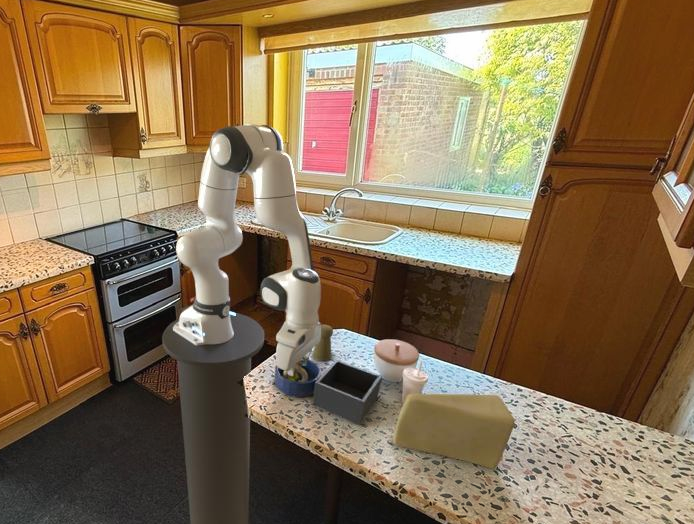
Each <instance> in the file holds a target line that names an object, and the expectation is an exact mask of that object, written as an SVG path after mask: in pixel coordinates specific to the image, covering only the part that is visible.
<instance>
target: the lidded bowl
mask: <svg viewBox="0 0 694 524" xmlns="http://www.w3.org/2000/svg"><path fill="white" fill-rule="evenodd" d="M419 359H420V352H419V350H418V349H417V348H416V347H415V346H414V345H412V344H410V343H408V342H405V341H403V340H399V339H391V338H390V339H389V338H388V339H382V340H379V341H377V342H376V343H375V344H374V347H373V365H374V368H375V370H376V372H377V374H378V375H380V376H382V379H384V380H385V381H388V382H391V383H399V382H403V378H404V377H403V371H404V370H405V369H407V368H417V364H418V361H419Z"/></svg>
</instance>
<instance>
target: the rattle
mask: <svg viewBox="0 0 694 524" xmlns="http://www.w3.org/2000/svg"><path fill="white" fill-rule="evenodd" d="M306 365H307V361H306V360H302V361H301V360H300V361H299V362H298V363H297V364H296V365H295V366H294V369H296V373H295V374H294V375H293V376H290V375H288V371H284V373H283V377H284V378H285V379H287V380H290V381H294V382H296V380H297V379H299V377H298V373H300V374H301V375H302V377H303V379H302V380H301V381H298V382H307V380H308V374H307V372H306V371H305V370H304V369H303V368H302V367H301V366H306ZM297 372H298V373H297Z"/></svg>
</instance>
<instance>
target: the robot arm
mask: <svg viewBox="0 0 694 524" xmlns="http://www.w3.org/2000/svg"><path fill="white" fill-rule="evenodd" d="M283 146H284V143H283V138H282V135H281V134H280V132H279V131H278V130H277V129H276V128H274V127H272V126H270V125H267V124H260V125H259V124H253V123H252V124H251V123H247V124H242V125H234V126H233V125H228V126H223V127H221V128H219V129H218V130H216V131H215V132H214V133H213V134H212V136H211V138H210V141H209V147H208V149H207V151H206V153H205V156H204V159H203V163H202V168H201V173H200V180H199V190H198V197H197V198H198V200H197V206H198V207H197V208H198V209H199V211H200V212H201V213H202V214H203V215H205V224H204V226H203V227H199V228H197V229H193V230H191V231H189V232H187V233H186V234H184V235H183V236H181V237H180V238H179V239H178V240H177V242H176V245H175V251H176V256H177V258H178V260H179V262H181V264H183V265H184V266H186V267H187V268H188V269H189V270H190V271H191V273H192V275H193V278H194V286H195V295H194V297H191V298H190V301H189V302H190V303H192V302H193V304H189V305H187V306H185V307H182V308H181V313H180V315H179V318H178V319H179V322H177V323H176V324H175V325H174V327H173V331H175V332H176V333H178V334H179V335H181V336H182V337H184V338H185V339H187V340H188V341H190V342H191V343H193V344H194V345H197V346H200V345H205V344H220V343H224V342H226V341H228V340H230V339H231V338H232V337H233V335H234V332H233V329H232V325H231V319H230V314H231V315H234V316H236V313H237V312H234V311H231V297H230V295H229V294H230V292H229V290H230V289H229V287H230V285H229V283H230V282H229V281H230V280H229V276H228V274H227V273H226V272H225V271H223V270H222V269H220V266H219V260H220V259H222V258H223V257H226V256H228V255H231V254H232V253H234V252H235V251H236V250H238V248H240V247H241V245H242V243H243V239H244V236H243V232H242V230H241V228H240V226H239V225H238V224H237V222H236V217H235V209H236V208H235V207H236V200H237V194H238V188H239V182H240V181H239V180H240V176H242V175H244V174H245V173H247V174H248V175H249V177H250V178H251V180H252V187H253V206H254V207H253V208H254V213H255V216H256V219H257V220H258V222H259V223H260V224H261V225H262V226H264V228H266V229H268V230H271V231H274V232H279V233H281V234H283V235H284V236H285V237H286V239H287V242H288V246H289V251H290V258H291V267H290V268H289V269H286V270H283V271H280V272H277V273H274V274H271V275H269V276H267V277H265V278H263V280H262V281H261V283H260V296H261V300H262V301H263V303H264V304H265V305H266V306H268V307H269V308H271V309H273V310H276V311H280V312H285V314H286V315H285V321H284V322H283V324H282V326H281V328H280V329H279V331H278V332H277V333H276V335H275V340H276V342H277V345H276V350H275V351H276V352H275V366H276V365H277V367H278V368H280V369H282V370H285V371H288V375H290V376H293V375H294V374H295V373H296V369H294V366H295V365H296V364H297V363H298V362H299V361H300V360H301V359H302V360H306V361H307V362H308V361H309V360H310V356H311V353H312V352H313V350H314V348H315V346H316V345H317V344H318V343H319V342H320V339H321V325H322V323H321V322H320V317H319V316H320V315H319V308H320V306H321V299H322V298H321V297H322V284H321V279H320V276H319V274H318V273H317V272H316V269H315V266H314V260H313V254H312V248H311V242H310V236H309V235H310V234H309V230H308V224H307V221H306V219H305V216H304V215H303V213H301V212H300V209H299V205H298V201H297V189H296V188H297V187H296V178H295V173H294V168H293V163H292V159H291V157H290V156H289V155H288V154H287V153H286V152H284V151H283V148H284V147H283ZM233 312H234V313H233Z"/></svg>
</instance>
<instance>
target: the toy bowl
mask: <svg viewBox="0 0 694 524" xmlns="http://www.w3.org/2000/svg"><path fill="white" fill-rule="evenodd" d="M301 361H302V359H301ZM301 367H302V368H303V369H304V370H305V371H306V372H307V374H308V380H307V382H298V381H301V380H302V379H303V377H302V375H301V374H300V373H298V372H297V373H298V377H299V379H297V380H296V382H294V381H290V380H287V379H285V378H284V377H283V373H284V371H285V370H282V369H280V368H278V367H277V365H276V364H275V368H274V384H275V386H276V388H277V390H279V391H280V392H281V393H283V394H285V395H286V396H287V395H288V396H290V397H296V398H303V397H309V396H312V395H314V389H315V382H316V381H317V380H318V379H319V378H320V377H321V376H322V369H321V367H320V366H319V364H318V363H316V362H315V361H314V360H311V359H309V361H308V362H307V365H306V366H301Z"/></svg>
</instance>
